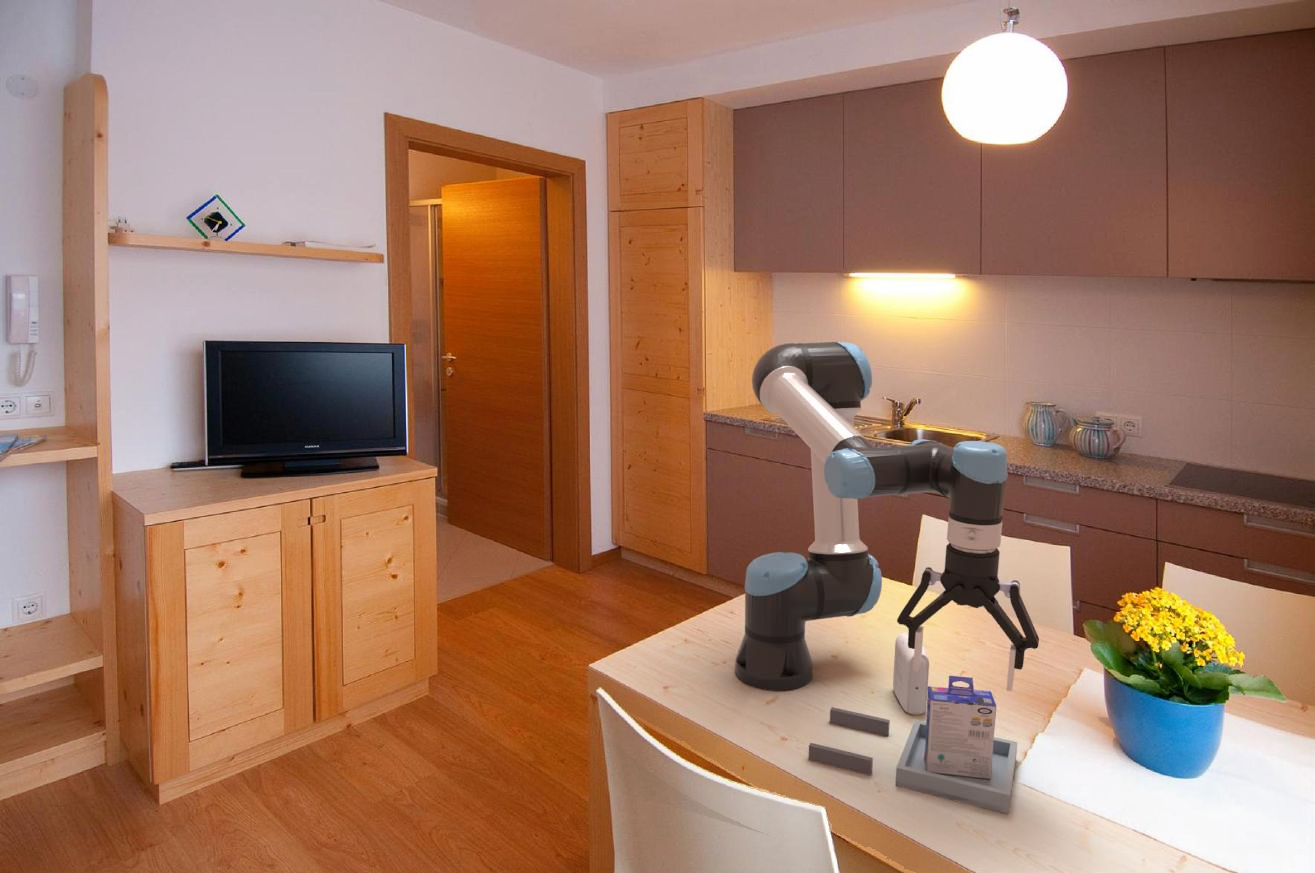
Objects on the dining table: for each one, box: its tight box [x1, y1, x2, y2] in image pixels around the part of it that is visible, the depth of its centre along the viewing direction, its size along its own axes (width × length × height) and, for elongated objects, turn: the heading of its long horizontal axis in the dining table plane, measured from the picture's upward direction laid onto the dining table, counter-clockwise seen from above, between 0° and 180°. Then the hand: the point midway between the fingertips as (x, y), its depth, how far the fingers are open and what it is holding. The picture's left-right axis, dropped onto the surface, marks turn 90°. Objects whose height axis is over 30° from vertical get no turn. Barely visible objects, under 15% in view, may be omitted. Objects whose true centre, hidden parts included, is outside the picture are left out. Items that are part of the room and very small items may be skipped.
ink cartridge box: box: [924, 675, 997, 779], centre depth 132 cm, size 10×6×14 cm, turn 78°
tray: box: [895, 719, 1018, 814], centre depth 133 cm, size 16×16×3 cm
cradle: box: [807, 706, 891, 776], centre depth 141 cm, size 10×14×2 cm
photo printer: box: [892, 632, 930, 716], centre depth 155 cm, size 10×4×12 cm, turn 179°
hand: (962, 677), depth 131 cm, fingers open, 13 cm apart
